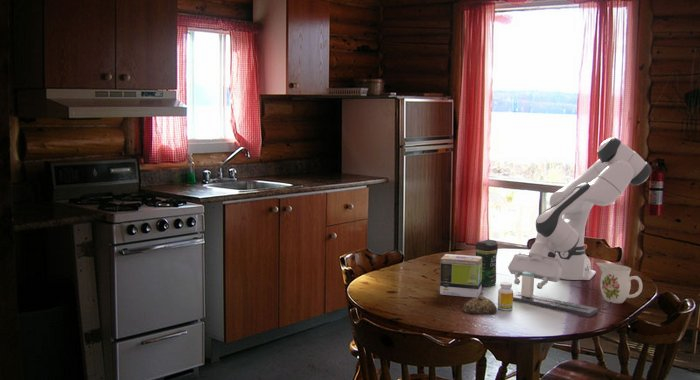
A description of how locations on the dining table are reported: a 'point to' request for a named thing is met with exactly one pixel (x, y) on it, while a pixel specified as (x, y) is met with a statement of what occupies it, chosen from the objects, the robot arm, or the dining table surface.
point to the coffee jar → (487, 260)
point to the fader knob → (527, 284)
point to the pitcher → (617, 282)
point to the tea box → (461, 275)
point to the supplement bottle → (505, 296)
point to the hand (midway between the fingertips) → (527, 285)
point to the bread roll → (480, 306)
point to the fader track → (556, 304)
